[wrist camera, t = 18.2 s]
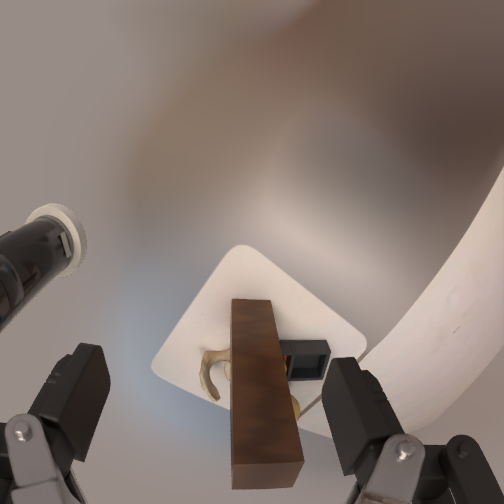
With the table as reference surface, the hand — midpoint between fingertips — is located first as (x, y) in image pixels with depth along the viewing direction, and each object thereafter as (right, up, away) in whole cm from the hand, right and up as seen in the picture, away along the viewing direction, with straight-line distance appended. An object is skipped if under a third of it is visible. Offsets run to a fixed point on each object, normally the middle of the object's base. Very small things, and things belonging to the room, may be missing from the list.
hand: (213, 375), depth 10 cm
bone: (-2, -12, +37) cm, 39 cm away
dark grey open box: (+7, -13, +38) cm, 40 cm away
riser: (+1, -5, +34) cm, 35 cm away
